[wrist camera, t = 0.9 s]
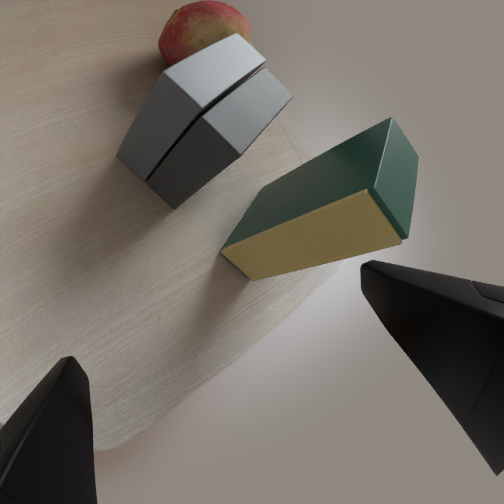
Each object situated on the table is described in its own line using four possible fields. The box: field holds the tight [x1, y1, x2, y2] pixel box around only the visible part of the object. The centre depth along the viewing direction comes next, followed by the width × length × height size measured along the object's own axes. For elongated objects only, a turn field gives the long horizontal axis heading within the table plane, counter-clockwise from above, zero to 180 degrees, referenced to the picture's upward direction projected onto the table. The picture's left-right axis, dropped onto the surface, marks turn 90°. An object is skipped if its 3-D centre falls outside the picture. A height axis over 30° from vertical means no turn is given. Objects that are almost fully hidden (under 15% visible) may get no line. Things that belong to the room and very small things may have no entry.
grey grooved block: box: [116, 33, 293, 209], centre depth 20 cm, size 8×6×10 cm
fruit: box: [158, 1, 251, 66], centre depth 23 cm, size 8×8×8 cm
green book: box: [220, 117, 419, 281], centre depth 22 cm, size 8×4×14 cm, turn 148°
